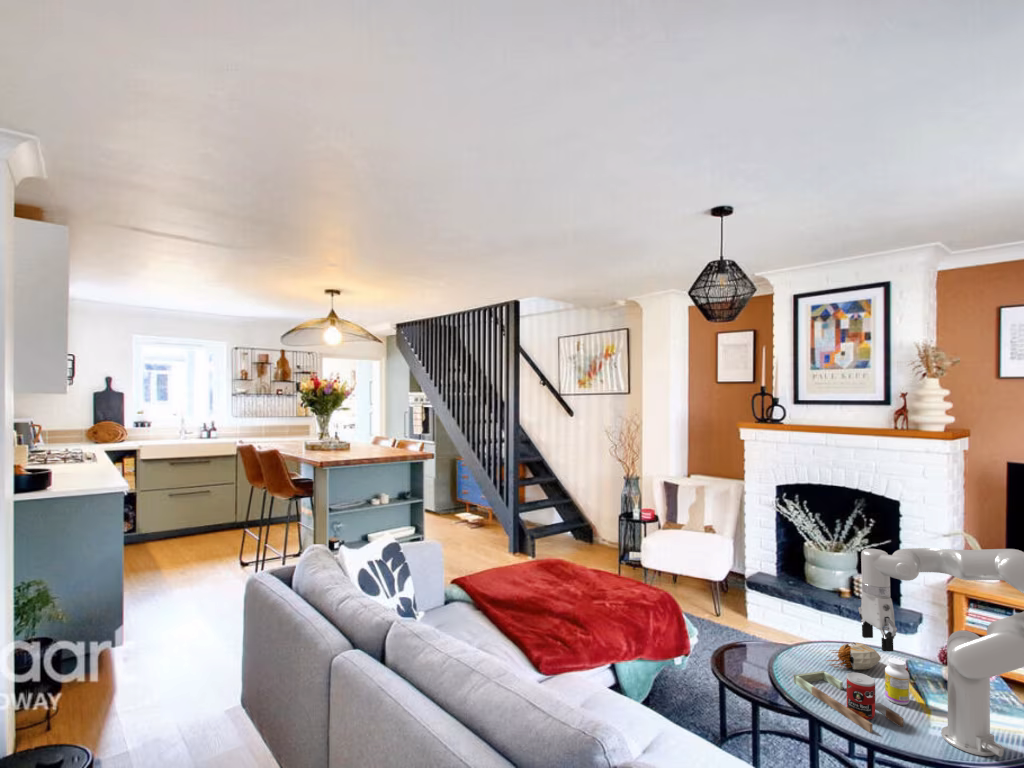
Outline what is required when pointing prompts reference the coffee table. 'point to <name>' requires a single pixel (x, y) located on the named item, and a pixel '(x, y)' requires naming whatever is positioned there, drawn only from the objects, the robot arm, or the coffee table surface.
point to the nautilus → (856, 656)
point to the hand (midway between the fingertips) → (877, 644)
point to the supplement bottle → (897, 682)
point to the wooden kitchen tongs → (822, 675)
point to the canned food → (861, 695)
